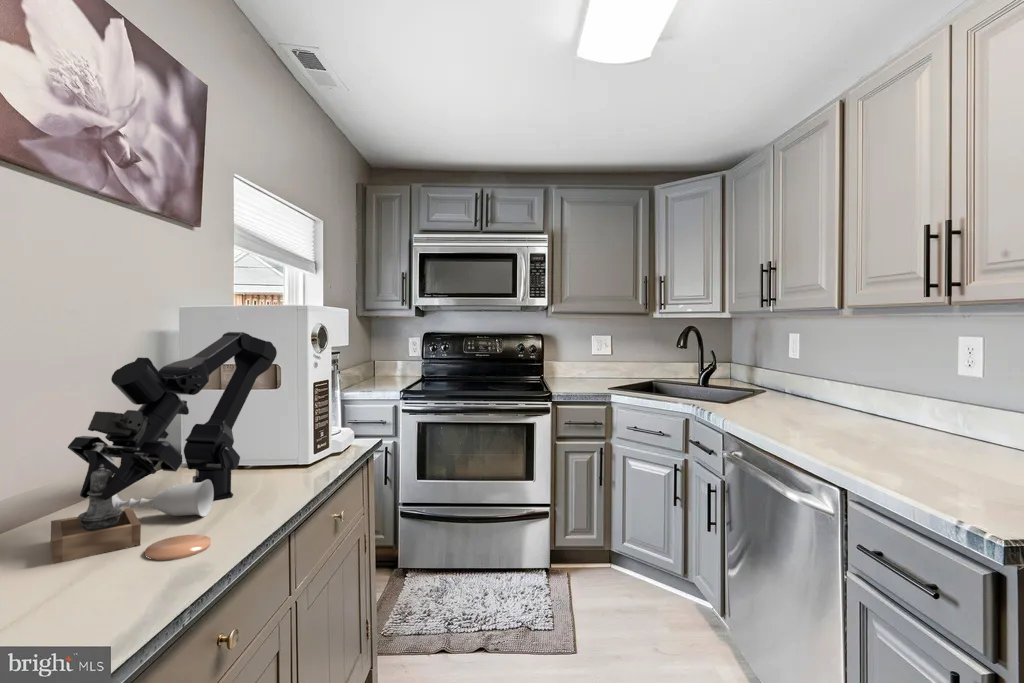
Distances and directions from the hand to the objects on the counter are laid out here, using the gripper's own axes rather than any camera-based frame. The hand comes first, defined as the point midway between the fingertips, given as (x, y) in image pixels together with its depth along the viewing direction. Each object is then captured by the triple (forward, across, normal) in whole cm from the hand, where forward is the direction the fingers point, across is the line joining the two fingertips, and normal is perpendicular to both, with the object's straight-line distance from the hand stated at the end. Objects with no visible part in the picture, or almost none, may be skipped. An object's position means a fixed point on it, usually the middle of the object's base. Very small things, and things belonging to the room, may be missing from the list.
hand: (92, 497), depth 85 cm
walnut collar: (+5, -1, +6) cm, 8 cm away
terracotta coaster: (+4, +14, +8) cm, 16 cm away
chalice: (-4, -11, +12) cm, 16 cm away
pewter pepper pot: (+4, 0, +6) cm, 7 cm away
